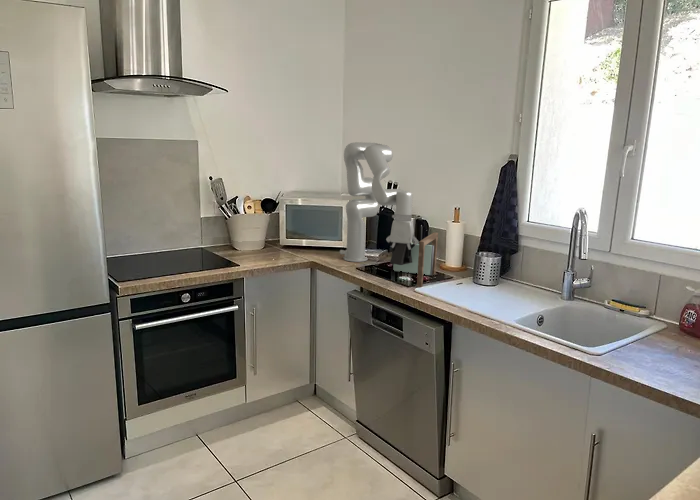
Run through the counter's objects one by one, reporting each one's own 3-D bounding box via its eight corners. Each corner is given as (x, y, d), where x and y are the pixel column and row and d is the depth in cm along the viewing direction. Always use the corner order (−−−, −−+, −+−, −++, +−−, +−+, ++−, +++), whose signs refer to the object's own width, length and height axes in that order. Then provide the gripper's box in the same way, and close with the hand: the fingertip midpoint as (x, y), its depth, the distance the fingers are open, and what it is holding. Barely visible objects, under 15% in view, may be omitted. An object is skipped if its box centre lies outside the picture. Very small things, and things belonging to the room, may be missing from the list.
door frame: (416, 286, 230) (419, 241, 226) (431, 273, 253) (434, 232, 249) (421, 287, 230) (423, 241, 225) (435, 274, 253) (438, 232, 248)
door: (432, 274, 249) (434, 245, 246) (431, 275, 248) (433, 246, 245) (394, 269, 256) (395, 241, 254) (393, 270, 255) (394, 241, 252)
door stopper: (400, 265, 241) (401, 239, 239) (390, 263, 245) (391, 237, 243) (412, 262, 248) (413, 237, 245) (402, 260, 252) (403, 235, 249)
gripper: (382, 217, 242) (381, 256, 246) (419, 220, 236) (417, 260, 239) (387, 215, 249) (386, 253, 253) (423, 218, 242) (421, 257, 246)
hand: (401, 256), depth 246 cm, fingers closed on door stopper, 6 cm apart
